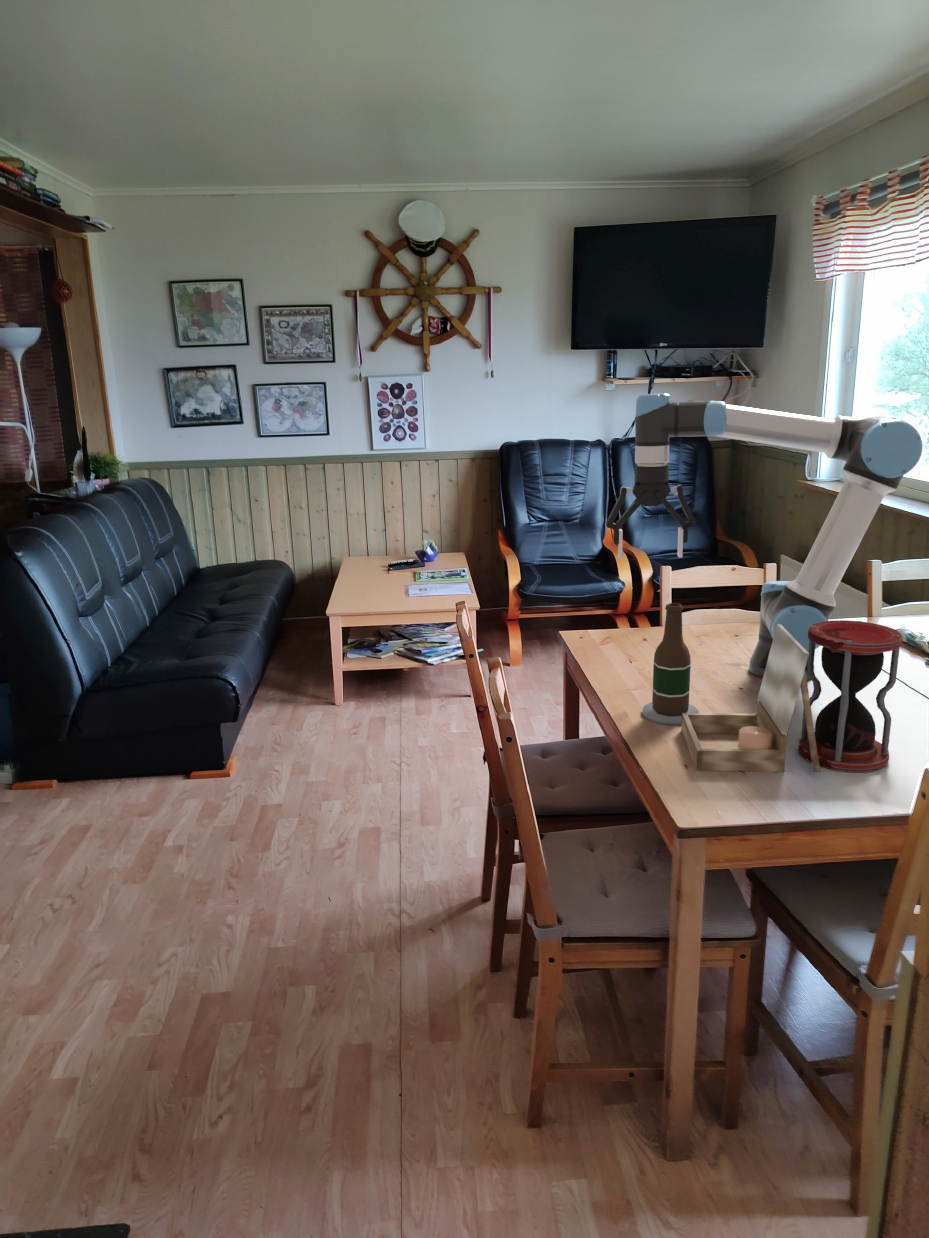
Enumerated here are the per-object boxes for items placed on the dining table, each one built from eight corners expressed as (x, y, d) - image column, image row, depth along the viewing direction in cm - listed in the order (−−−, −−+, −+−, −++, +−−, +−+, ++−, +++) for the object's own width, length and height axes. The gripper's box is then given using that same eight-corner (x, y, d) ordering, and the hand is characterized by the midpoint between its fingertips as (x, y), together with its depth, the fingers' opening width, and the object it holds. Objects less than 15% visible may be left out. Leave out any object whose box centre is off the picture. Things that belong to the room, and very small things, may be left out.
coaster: (693, 705, 193) (693, 700, 192) (703, 725, 181) (703, 721, 181) (639, 704, 194) (639, 700, 193) (645, 724, 182) (645, 720, 182)
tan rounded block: (765, 754, 166) (767, 726, 165) (774, 768, 161) (776, 738, 159) (734, 754, 167) (735, 726, 165) (741, 768, 161) (743, 738, 159)
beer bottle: (668, 719, 182) (672, 611, 176) (644, 708, 189) (647, 603, 182) (696, 712, 186) (701, 605, 179) (671, 701, 192) (675, 598, 186)
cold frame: (792, 734, 177) (801, 623, 170) (820, 775, 158) (832, 652, 152) (681, 733, 179) (685, 623, 173) (696, 773, 161) (702, 652, 154)
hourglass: (805, 732, 176) (815, 615, 169) (892, 747, 168) (906, 625, 161) (790, 762, 163) (801, 636, 156) (884, 779, 155) (899, 648, 148)
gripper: (705, 461, 194) (702, 553, 200) (594, 464, 197) (594, 555, 202) (711, 464, 187) (707, 559, 193) (596, 467, 190) (596, 561, 195)
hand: (649, 557), depth 198 cm, fingers open, 13 cm apart
